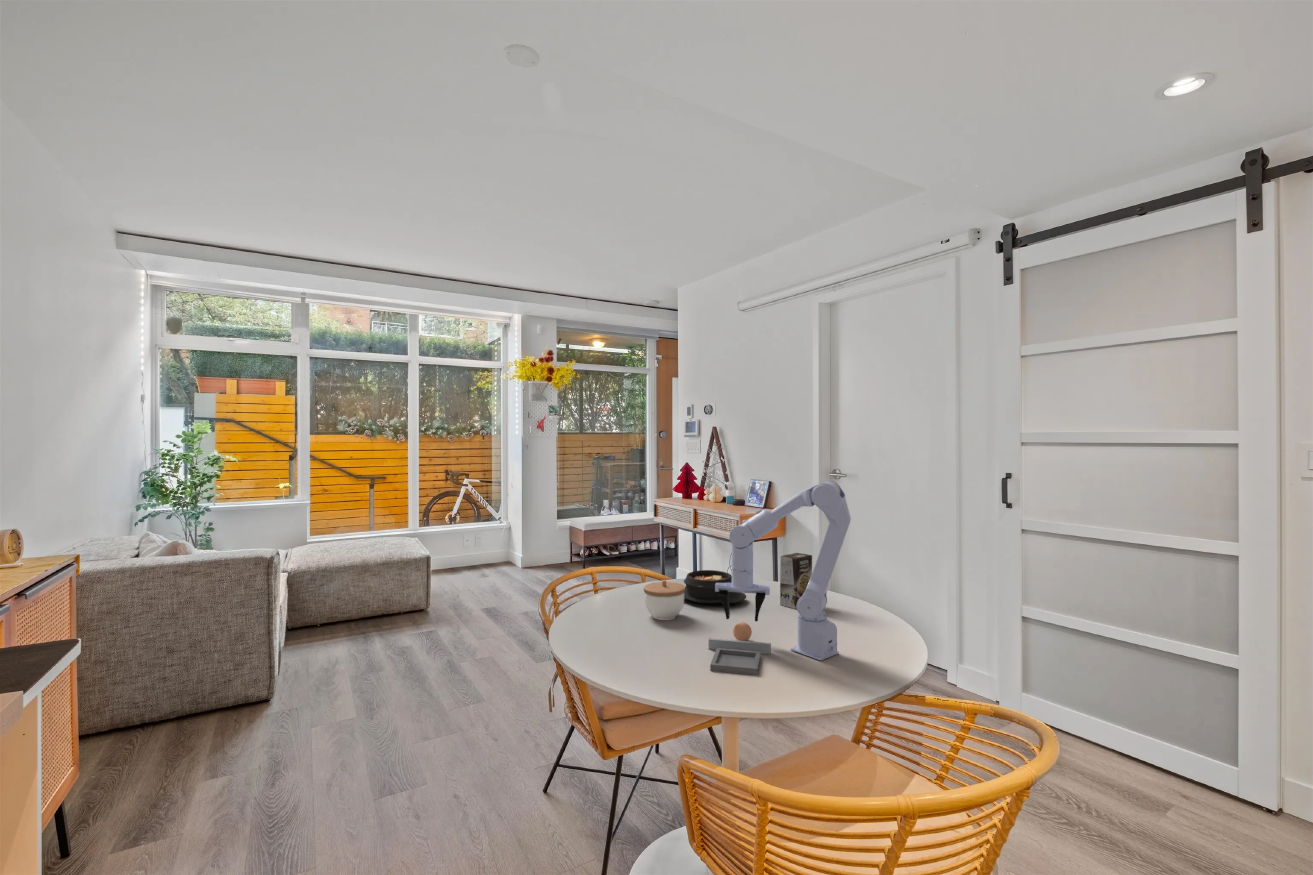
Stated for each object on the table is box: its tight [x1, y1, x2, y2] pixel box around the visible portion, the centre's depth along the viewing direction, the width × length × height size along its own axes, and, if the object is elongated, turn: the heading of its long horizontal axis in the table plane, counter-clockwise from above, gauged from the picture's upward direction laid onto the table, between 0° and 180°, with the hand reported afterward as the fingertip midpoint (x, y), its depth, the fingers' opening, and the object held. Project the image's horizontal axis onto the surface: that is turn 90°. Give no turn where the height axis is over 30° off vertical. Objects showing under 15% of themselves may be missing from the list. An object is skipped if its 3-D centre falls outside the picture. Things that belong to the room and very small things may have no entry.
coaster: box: [709, 648, 761, 676], centre depth 146 cm, size 11×11×1 cm
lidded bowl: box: [643, 579, 685, 621], centre depth 183 cm, size 13×13×11 cm
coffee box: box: [779, 552, 813, 610], centre depth 195 cm, size 9×6×16 cm
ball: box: [732, 621, 753, 641], centre depth 162 cm, size 5×5×5 cm
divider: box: [708, 637, 772, 655], centre depth 155 cm, size 16×1×2 cm, turn 76°
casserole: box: [683, 569, 747, 605], centre depth 200 cm, size 25×19×8 cm
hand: (742, 619), depth 162 cm, fingers open, 7 cm apart
